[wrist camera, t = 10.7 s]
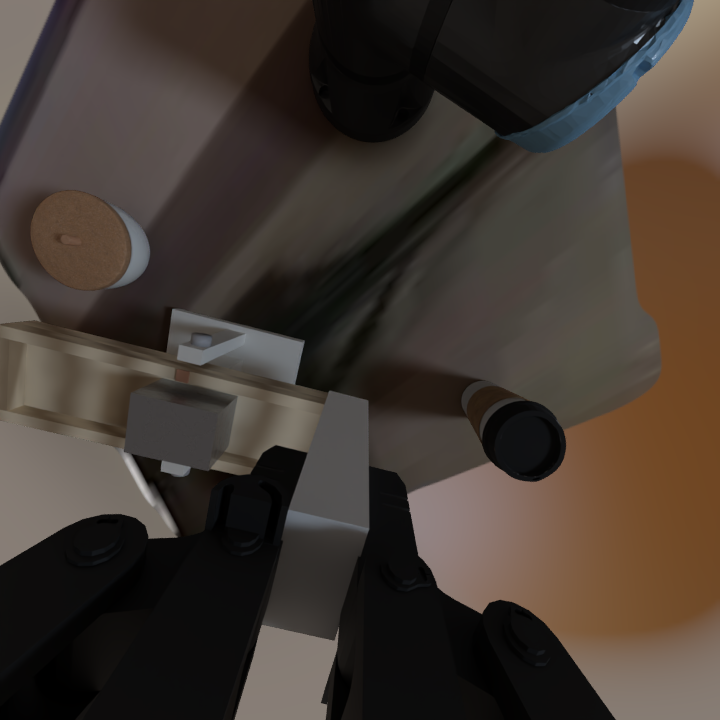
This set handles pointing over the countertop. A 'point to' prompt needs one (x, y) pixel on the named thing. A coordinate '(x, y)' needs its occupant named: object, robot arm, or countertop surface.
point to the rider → (179, 423)
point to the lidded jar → (88, 241)
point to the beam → (129, 373)
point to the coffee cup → (514, 431)
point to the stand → (230, 352)
